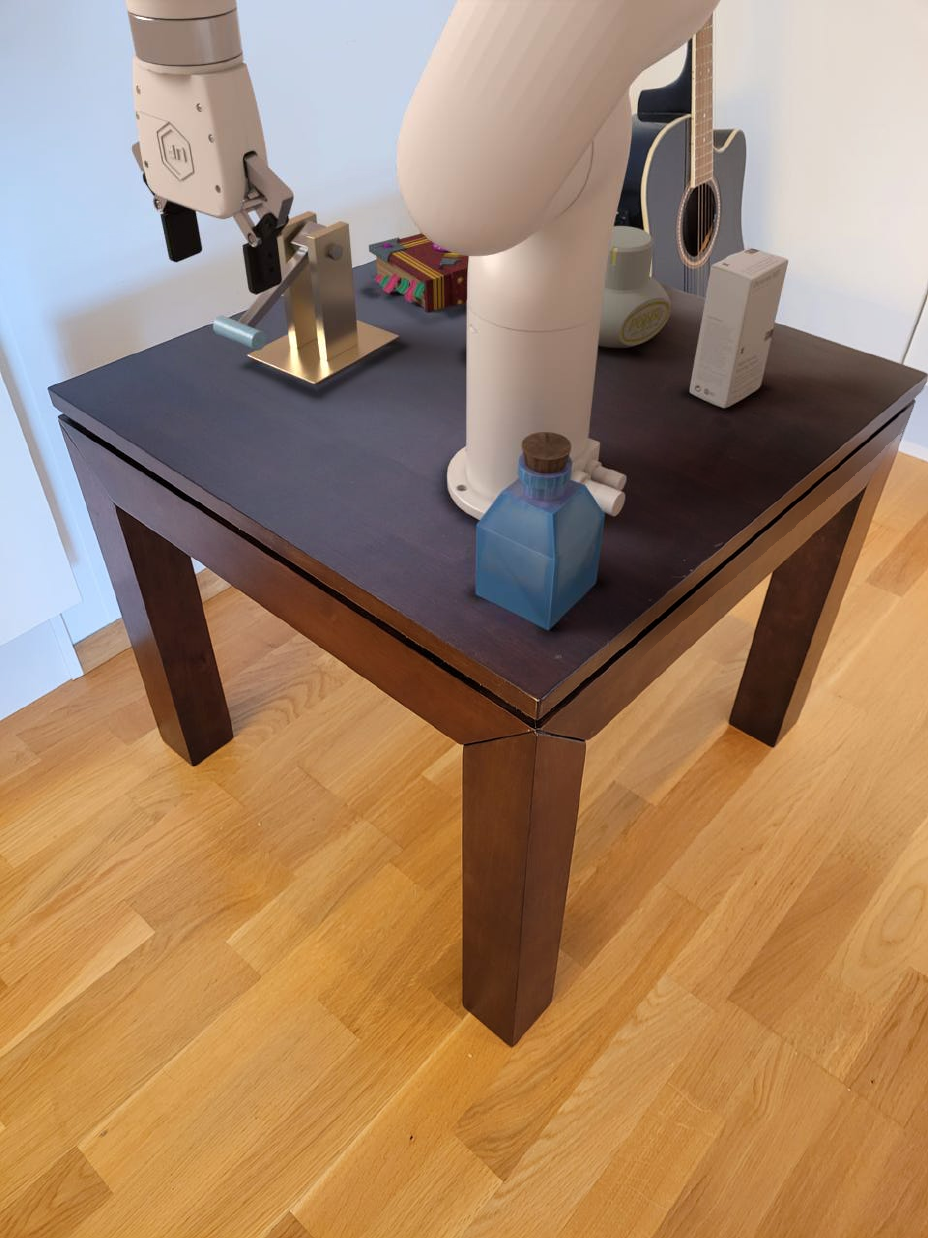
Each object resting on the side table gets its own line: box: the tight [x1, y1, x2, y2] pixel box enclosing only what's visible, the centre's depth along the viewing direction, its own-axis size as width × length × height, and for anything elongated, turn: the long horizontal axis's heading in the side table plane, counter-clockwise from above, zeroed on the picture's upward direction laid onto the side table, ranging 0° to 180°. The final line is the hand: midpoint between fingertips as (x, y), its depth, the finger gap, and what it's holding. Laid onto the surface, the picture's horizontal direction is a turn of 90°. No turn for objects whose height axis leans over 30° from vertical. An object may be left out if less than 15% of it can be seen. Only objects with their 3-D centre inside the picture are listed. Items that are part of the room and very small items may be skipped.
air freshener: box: [598, 225, 672, 349], centre depth 93 cm, size 11×8×10 cm
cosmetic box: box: [689, 247, 789, 409], centre depth 84 cm, size 6×4×12 cm
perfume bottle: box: [475, 432, 606, 632], centre depth 64 cm, size 6×6×12 cm
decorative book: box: [368, 230, 469, 313], centre depth 103 cm, size 11×16×5 cm
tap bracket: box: [246, 210, 400, 387], centre depth 89 cm, size 12×9×13 cm
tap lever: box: [212, 221, 327, 351], centre depth 84 cm, size 13×5×2 cm, turn 143°
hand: (225, 272), depth 79 cm, fingers open, 9 cm apart
